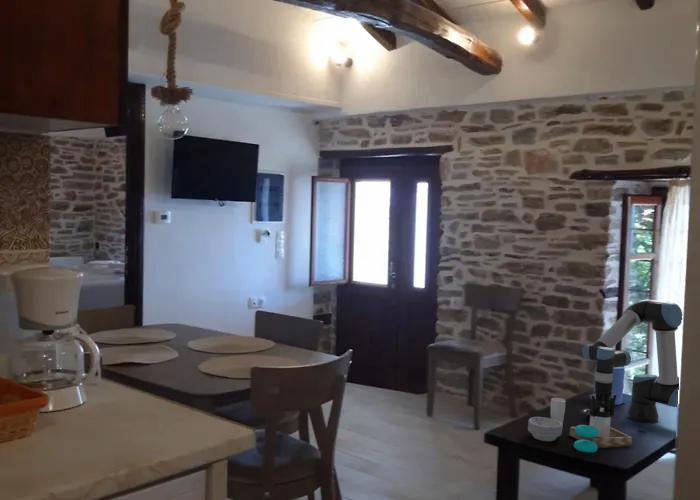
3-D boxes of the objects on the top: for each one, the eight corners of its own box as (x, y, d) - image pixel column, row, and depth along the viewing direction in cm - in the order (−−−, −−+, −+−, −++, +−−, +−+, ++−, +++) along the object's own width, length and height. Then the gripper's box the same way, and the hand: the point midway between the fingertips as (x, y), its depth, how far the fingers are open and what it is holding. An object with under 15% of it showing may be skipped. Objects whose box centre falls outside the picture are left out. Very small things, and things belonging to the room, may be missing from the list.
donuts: (575, 422, 305) (599, 426, 301) (574, 444, 306) (597, 448, 302) (574, 428, 296) (598, 432, 292) (572, 451, 297) (596, 455, 293)
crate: (605, 433, 324) (606, 425, 324) (631, 445, 307) (631, 437, 307) (569, 435, 319) (570, 426, 319) (593, 448, 302) (594, 439, 301)
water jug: (619, 407, 374) (622, 357, 373) (590, 401, 382) (593, 353, 381) (625, 401, 387) (628, 353, 386) (596, 396, 395) (599, 349, 394)
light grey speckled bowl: (557, 446, 302) (558, 428, 302) (523, 439, 310) (524, 422, 309) (564, 437, 316) (565, 420, 315) (532, 431, 323) (533, 414, 323)
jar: (600, 439, 307) (602, 413, 306) (585, 433, 314) (587, 408, 313) (612, 436, 312) (614, 411, 311) (597, 431, 319) (599, 406, 318)
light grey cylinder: (547, 427, 329) (549, 397, 329) (561, 428, 329) (563, 398, 329) (551, 432, 323) (553, 401, 322) (565, 432, 322) (567, 401, 322)
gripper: (614, 378, 318) (611, 427, 319) (582, 379, 313) (579, 429, 314) (624, 382, 311) (621, 432, 312) (592, 383, 306) (589, 434, 307)
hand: (600, 430), depth 313 cm, fingers closed on jar, 4 cm apart
